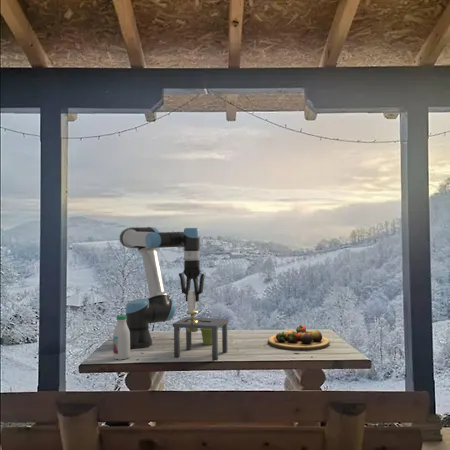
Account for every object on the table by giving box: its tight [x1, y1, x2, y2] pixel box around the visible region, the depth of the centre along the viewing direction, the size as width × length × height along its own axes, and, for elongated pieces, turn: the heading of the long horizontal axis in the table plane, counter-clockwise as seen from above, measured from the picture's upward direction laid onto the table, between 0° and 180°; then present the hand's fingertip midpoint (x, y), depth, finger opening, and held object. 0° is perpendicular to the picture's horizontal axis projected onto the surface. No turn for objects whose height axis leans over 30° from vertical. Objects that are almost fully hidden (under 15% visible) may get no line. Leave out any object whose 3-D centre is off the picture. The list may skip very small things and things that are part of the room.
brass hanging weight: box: [186, 289, 199, 333], centre depth 238 cm, size 6×6×20 cm
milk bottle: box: [112, 314, 131, 361], centre depth 232 cm, size 8×8×20 cm
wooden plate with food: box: [267, 324, 330, 351], centre depth 258 cm, size 32×32×8 cm
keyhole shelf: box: [172, 316, 230, 361], centre depth 237 cm, size 22×18×16 cm
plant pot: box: [199, 328, 212, 346], centre depth 259 cm, size 9×9×9 cm
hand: (192, 308), depth 238 cm, fingers closed on brass hanging weight, 2 cm apart
